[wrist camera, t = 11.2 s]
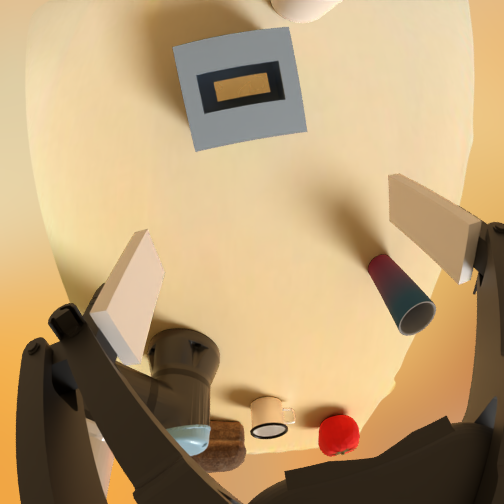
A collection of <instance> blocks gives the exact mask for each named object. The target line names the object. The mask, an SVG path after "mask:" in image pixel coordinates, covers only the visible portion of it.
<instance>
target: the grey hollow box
mask: <svg viewBox="0 0 504 504" xmlns="http://www.w3.org/2000/svg"><path fill="white" fill-rule="evenodd" d="M172 48H173V53H174V57H175V62H176V67H177V72H178V76H179V81H180V86H181V90H182V95H183V100H184V104H185V108H186V113H187V117H188V122H189V126H190V130H191V135H192V139H193V143H194V148H195V152H197V151H201V150H206V149H210V148H215V147H219V146H224V145H229V144H234V143H239V142H244V141H250V140H255V139H261V138H267V137H273V136H279V135H286V134H293V133H300V132H307V127H306V120H305V113H304V107H303V101H302V95H301V89H300V83H299V77H298V71H297V66H296V61H295V56H294V50H293V45H292V41H291V36H290V31H289V27H282V28H271V29H262V30H254V31H247V32H240V33H234V34H228V35H222V36H217V37H212V38H208V39H203V40H199V41H194V42H190V43H186V44H182V45H179V46H175V47H172ZM260 73H267V77H268V82H269V87H270V92H268V93H263V94H257V95H251V96H245V97H240V98H235V99H230V100H225V101H220V102H218V100H217V95H216V91H215V86H214V82H217V81H222V80H227V79H232V78H237V77H243V76H248V75H254V74H260Z"/></svg>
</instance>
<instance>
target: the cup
mask: <svg viewBox="0 0 504 504" xmlns="http://www.w3.org/2000/svg"><path fill="white" fill-rule="evenodd" d="M368 272H369V274H370V276H371V278H372V280H373V281H374V283H375V285H376V287H377V289H378V291H379V292H380V294H381V296H382V298H383V300H384V302H385V304H386V306H387V308H388V310H389V312H390V313H391V315H392V317H393V319H394V321H395V323H396V325H397V327H398V329H399V331H400V333H401V334H403V335H406V336H407V335H413V334H416V333H418V332H420V331H421V330H423V329H424V328H425V327H426V326H428V324H429V323H430V322H431V321H432V319H433V318H434V315H435V312H436V307H435V304H434V303H433V302H432V301H431V300H430V299H429V297H428V296H427V295H426V294H425V293H424V292H423V291H422V290H421V289H420V288H419V287H418V286H417V285H416V283H415V282H414V281H413V280H412V279H411V278H410V277H409V276H408V275H407V274H406V273H405V272H404V271H403V270H402V269H401V268H400V267H399V266H398V265H397V264H396V263H395V262H394V261H393V260H392V259H391V258H390V257H389V256H388V255H384V254H383V255H379V256H376V257H375V258H374V259H373V260H372V261H371V262H370V264H369V267H368Z"/></svg>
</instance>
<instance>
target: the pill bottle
mask: <svg viewBox="0 0 504 504" xmlns="http://www.w3.org/2000/svg"><path fill="white" fill-rule="evenodd" d="M341 1H343V0H271V4H272V6H273V8H274V9H275V11H276V12H277V13H278V14H279V15H280V16H282V17H283V18H285V19H287V20H289V21H292V22H297V23H308V22H312V21H315V20H317V19H319V18H320V17H322V16H323V15H324V14H325V13H327V12H328V11H329V10H331V9H332V8H333V7H335V6H336V5H337V4H339V3H340V2H341Z"/></svg>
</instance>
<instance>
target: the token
mask: <svg viewBox="0 0 504 504" xmlns="http://www.w3.org/2000/svg"><path fill="white" fill-rule="evenodd" d="M214 86H215V91H216V95H217V100H218V102H220V101H225V100H230V99H235V98H240V97H245V96H251V95H257V94H263V93H268V92H270V87H269V82H268V77H267V73H260V74H254V75H248V76H243V77H237V78H232V79H227V80H222V81H217V82H214Z"/></svg>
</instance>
